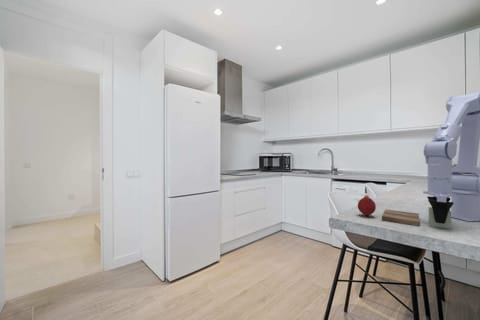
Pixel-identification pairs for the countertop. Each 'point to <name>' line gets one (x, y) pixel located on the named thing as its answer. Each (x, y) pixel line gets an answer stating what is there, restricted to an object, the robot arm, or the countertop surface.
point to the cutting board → (401, 217)
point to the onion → (366, 206)
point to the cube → (433, 223)
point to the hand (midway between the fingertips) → (439, 220)
